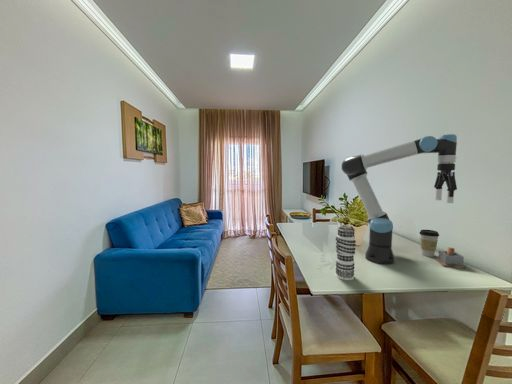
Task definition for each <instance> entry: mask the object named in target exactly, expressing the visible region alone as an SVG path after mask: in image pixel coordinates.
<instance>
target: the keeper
mask: <svg viewBox="0 0 512 384" xmlns="http://www.w3.org/2000/svg"><path fill="white" fill-rule="evenodd" d="M446 251H447V254H448V255H454V252H455V248H454V247H447V250H446ZM438 258H439V257H435V259H434V260H435V261H436V262H437V263H439V265H441V266H442V267H445V268H446V267H447V268H455V269H467V266H466V265H464V264H463V266H458V265H448V264H444V263H443V262H442V261H440V260H439V259H438Z"/></svg>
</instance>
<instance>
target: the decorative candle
mask: <svg viewBox="0 0 512 384" xmlns="http://www.w3.org/2000/svg"><path fill="white" fill-rule="evenodd" d="M355 231H356V229H355V228H354V227H353V226H352V225H348V224H341V225H339V227H338V228H337V235H336V237H335V241H336V242H335V244H336V245H335V248H336V249H335V251H336V252H335V253H336V261H335V266H336V267H335V277H337V278H338V279H339V280H340V279H341V280H344V281H345V280H346V281H351V280H354V278H355V276H354V275H355V259H354V258H355V257H354V256H355V255H356V251H355V250H356V246H357V244H356V243H357V240H356V236H355Z"/></svg>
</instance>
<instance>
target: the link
mask: <svg viewBox="0 0 512 384" xmlns="http://www.w3.org/2000/svg"><path fill="white" fill-rule="evenodd" d="M437 258H438V259H439V260H440V261H442V262H443V263H444V264H448V265H458V266H463V265H464V260H465V259H464V258H465V257H464V256H463V255H462V254H460V253H458V252H457V251H454V255H448V254H447V250H438V257H437Z"/></svg>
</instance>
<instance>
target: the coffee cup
mask: <svg viewBox="0 0 512 384" xmlns="http://www.w3.org/2000/svg"><path fill="white" fill-rule="evenodd" d="M418 234H419V241H420V242H419V244H420V251H421V255H422V256H423V257H429V258H434V256H435V254H436V249H437V245H438V239H439V237H440V234H439V231H436V230H433V229H420V231H419V232H418Z"/></svg>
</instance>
